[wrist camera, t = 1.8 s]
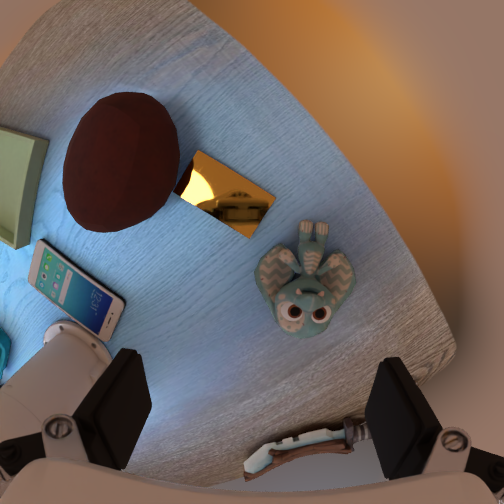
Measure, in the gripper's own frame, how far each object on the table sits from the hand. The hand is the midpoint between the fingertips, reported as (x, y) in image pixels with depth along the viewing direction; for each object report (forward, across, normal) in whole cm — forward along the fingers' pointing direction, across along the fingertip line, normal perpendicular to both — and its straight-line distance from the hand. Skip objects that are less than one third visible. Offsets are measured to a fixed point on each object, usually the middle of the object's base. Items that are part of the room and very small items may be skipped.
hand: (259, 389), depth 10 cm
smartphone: (+21, +24, +6) cm, 33 cm away
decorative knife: (+20, -25, +23) cm, 39 cm away
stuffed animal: (+20, -5, -4) cm, 21 cm away
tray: (+21, +37, -9) cm, 43 cm away
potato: (+22, +13, -9) cm, 27 cm away
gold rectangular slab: (+21, +3, -8) cm, 23 cm away
